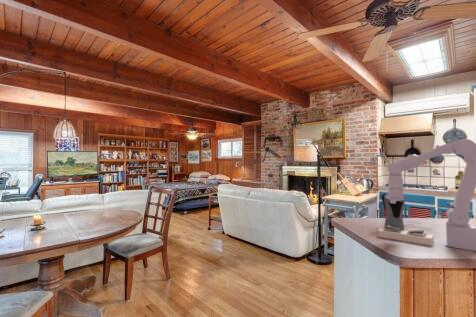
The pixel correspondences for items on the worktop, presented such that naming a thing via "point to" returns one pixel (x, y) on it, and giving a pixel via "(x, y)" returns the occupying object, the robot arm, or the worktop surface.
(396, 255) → the worktop surface
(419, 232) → the rocker
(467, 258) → the worktop surface
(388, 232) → the power strip
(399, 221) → the moka pot
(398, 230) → the rocker
